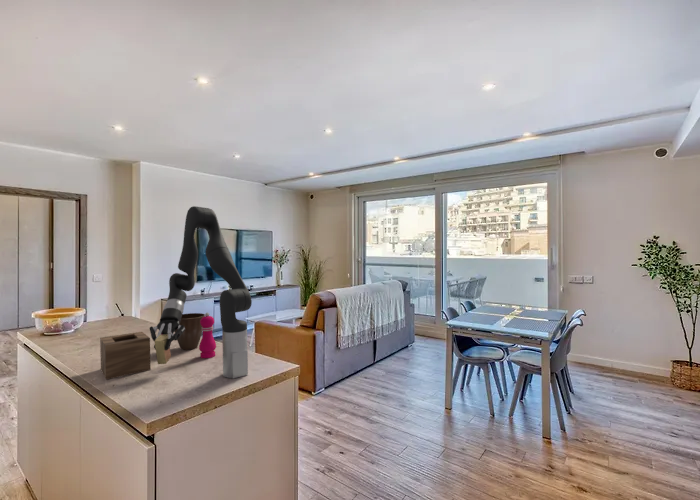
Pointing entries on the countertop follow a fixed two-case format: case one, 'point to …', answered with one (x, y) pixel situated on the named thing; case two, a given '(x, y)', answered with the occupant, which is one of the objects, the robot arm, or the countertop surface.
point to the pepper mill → (207, 337)
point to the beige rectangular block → (162, 349)
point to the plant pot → (190, 331)
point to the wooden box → (125, 354)
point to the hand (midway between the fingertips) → (161, 349)
